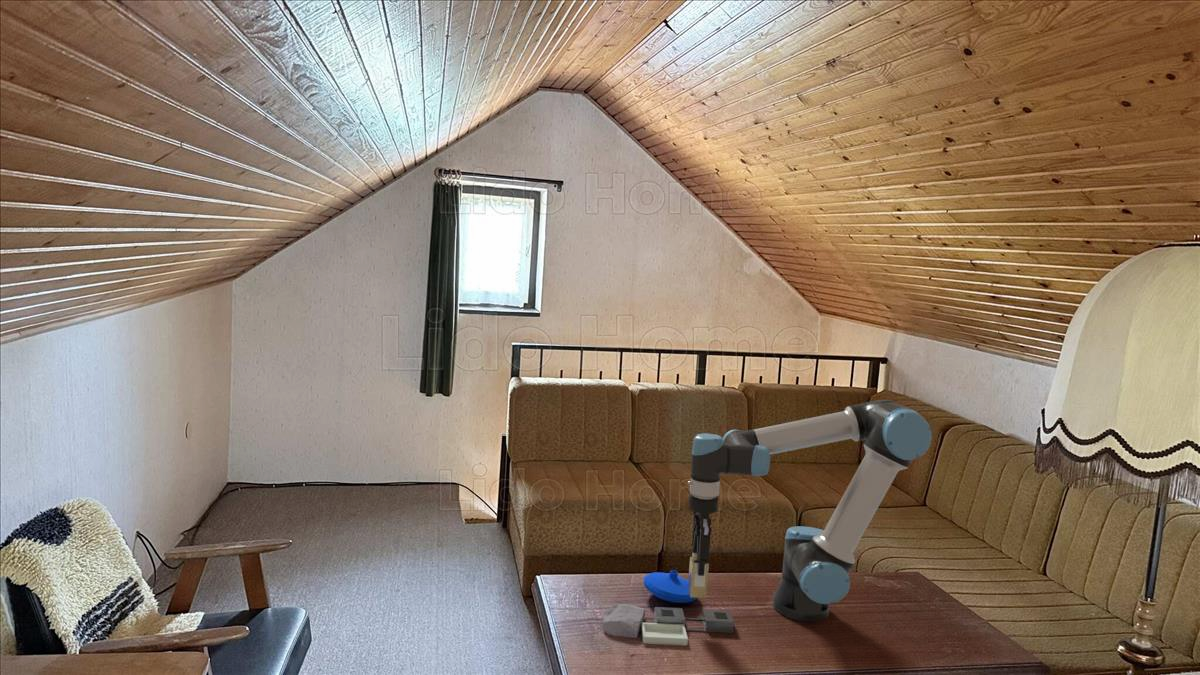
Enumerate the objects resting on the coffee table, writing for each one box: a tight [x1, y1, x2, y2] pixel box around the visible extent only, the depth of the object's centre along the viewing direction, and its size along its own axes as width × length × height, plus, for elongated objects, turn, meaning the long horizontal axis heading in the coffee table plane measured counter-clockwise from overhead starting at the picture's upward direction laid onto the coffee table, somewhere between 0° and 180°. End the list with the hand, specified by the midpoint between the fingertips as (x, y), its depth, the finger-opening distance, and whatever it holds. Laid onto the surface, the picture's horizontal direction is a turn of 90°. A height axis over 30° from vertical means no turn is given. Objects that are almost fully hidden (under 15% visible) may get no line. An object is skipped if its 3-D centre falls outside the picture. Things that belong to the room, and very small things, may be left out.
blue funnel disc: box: [643, 569, 698, 604], centre depth 202 cm, size 16×16×7 cm
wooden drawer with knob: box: [688, 556, 710, 599], centre depth 187 cm, size 4×4×9 cm
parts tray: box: [640, 621, 689, 647], centre depth 182 cm, size 11×7×2 cm, turn 92°
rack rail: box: [653, 606, 735, 634], centre depth 189 cm, size 20×6×3 cm, turn 92°
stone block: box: [602, 603, 646, 639], centre depth 187 cm, size 12×5×10 cm
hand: (697, 581), depth 187 cm, fingers closed on wooden drawer with knob, 4 cm apart
